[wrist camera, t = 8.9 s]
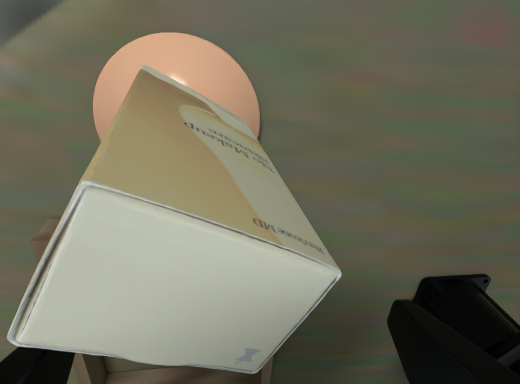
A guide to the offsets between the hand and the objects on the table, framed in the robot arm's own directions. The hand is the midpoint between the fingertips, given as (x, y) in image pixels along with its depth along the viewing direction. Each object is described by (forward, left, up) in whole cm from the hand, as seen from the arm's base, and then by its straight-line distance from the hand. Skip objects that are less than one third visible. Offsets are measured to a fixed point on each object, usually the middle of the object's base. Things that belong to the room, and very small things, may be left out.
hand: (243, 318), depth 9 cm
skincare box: (+3, -2, -11) cm, 12 cm away
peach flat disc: (+3, -2, -12) cm, 13 cm away
